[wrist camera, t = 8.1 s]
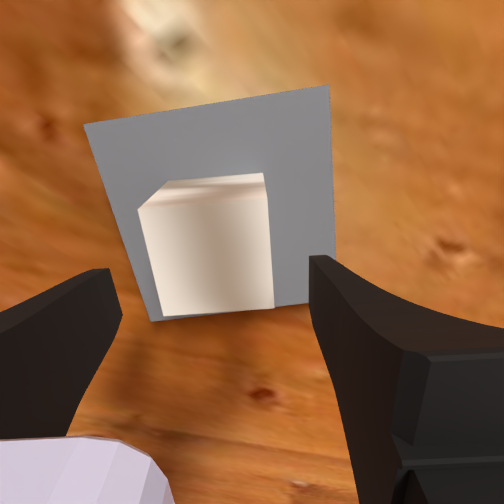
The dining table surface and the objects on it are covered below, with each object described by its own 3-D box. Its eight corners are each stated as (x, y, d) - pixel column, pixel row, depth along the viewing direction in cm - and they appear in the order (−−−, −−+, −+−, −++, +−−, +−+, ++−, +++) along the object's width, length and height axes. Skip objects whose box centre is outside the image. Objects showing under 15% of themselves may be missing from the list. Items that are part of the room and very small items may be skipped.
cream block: (184, 265, 19) (163, 316, 14) (168, 180, 17) (137, 209, 12) (268, 258, 19) (274, 308, 14) (262, 172, 17) (267, 198, 12)
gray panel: (165, 289, 24) (150, 321, 21) (114, 120, 19) (83, 124, 16) (324, 268, 24) (337, 299, 20) (314, 87, 19) (329, 84, 15)
